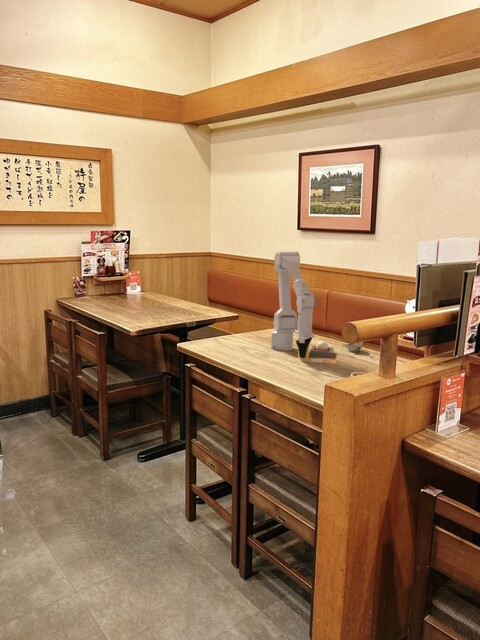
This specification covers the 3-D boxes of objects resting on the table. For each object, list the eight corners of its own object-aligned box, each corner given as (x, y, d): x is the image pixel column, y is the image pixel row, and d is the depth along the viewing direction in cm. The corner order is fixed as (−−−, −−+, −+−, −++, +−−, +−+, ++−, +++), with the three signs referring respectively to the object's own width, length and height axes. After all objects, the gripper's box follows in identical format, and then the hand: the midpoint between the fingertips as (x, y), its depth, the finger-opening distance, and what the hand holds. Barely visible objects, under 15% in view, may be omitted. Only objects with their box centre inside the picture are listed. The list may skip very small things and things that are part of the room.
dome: (314, 353, 215) (315, 341, 214) (316, 350, 220) (316, 339, 219) (327, 354, 213) (328, 343, 212) (329, 351, 219) (329, 340, 218)
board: (295, 364, 204) (295, 361, 204) (302, 350, 225) (303, 348, 225) (337, 368, 200) (337, 365, 200) (341, 354, 221) (341, 352, 221)
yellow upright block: (297, 360, 207) (297, 344, 205) (298, 357, 211) (299, 342, 210) (307, 361, 206) (308, 345, 204) (309, 358, 210) (310, 343, 208)
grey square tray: (310, 356, 214) (310, 350, 213) (312, 350, 222) (312, 345, 222) (331, 358, 212) (331, 352, 211) (333, 352, 220) (333, 347, 220)
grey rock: (356, 361, 224) (365, 347, 216) (339, 353, 225) (347, 339, 217) (360, 348, 230) (369, 334, 223) (343, 340, 231) (351, 326, 223)
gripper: (312, 328, 197) (310, 361, 200) (316, 321, 211) (315, 352, 214) (294, 326, 199) (293, 359, 202) (300, 320, 213) (298, 351, 216)
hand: (303, 356), depth 208 cm, fingers closed on yellow upright block, 4 cm apart
